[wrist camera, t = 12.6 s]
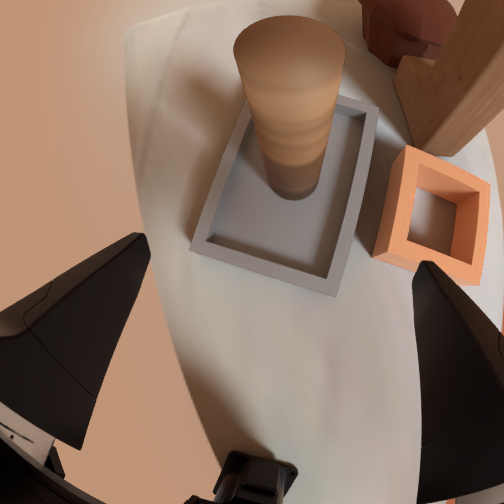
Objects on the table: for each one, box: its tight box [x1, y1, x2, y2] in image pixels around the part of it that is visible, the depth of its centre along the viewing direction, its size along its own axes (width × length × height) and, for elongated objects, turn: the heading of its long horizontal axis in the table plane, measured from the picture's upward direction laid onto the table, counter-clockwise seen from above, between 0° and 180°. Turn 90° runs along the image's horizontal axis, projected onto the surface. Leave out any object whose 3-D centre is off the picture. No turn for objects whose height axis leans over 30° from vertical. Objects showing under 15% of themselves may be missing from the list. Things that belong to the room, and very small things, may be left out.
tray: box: [189, 95, 379, 297], centre depth 22 cm, size 16×11×2 cm
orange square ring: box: [372, 144, 490, 286], centre depth 19 cm, size 8×8×4 cm
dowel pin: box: [233, 16, 346, 201], centre depth 15 cm, size 4×4×14 cm
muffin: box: [358, 0, 457, 68], centre depth 18 cm, size 12×11×10 cm
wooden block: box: [393, 0, 504, 157], centre depth 13 cm, size 9×4×18 cm, turn 3°
